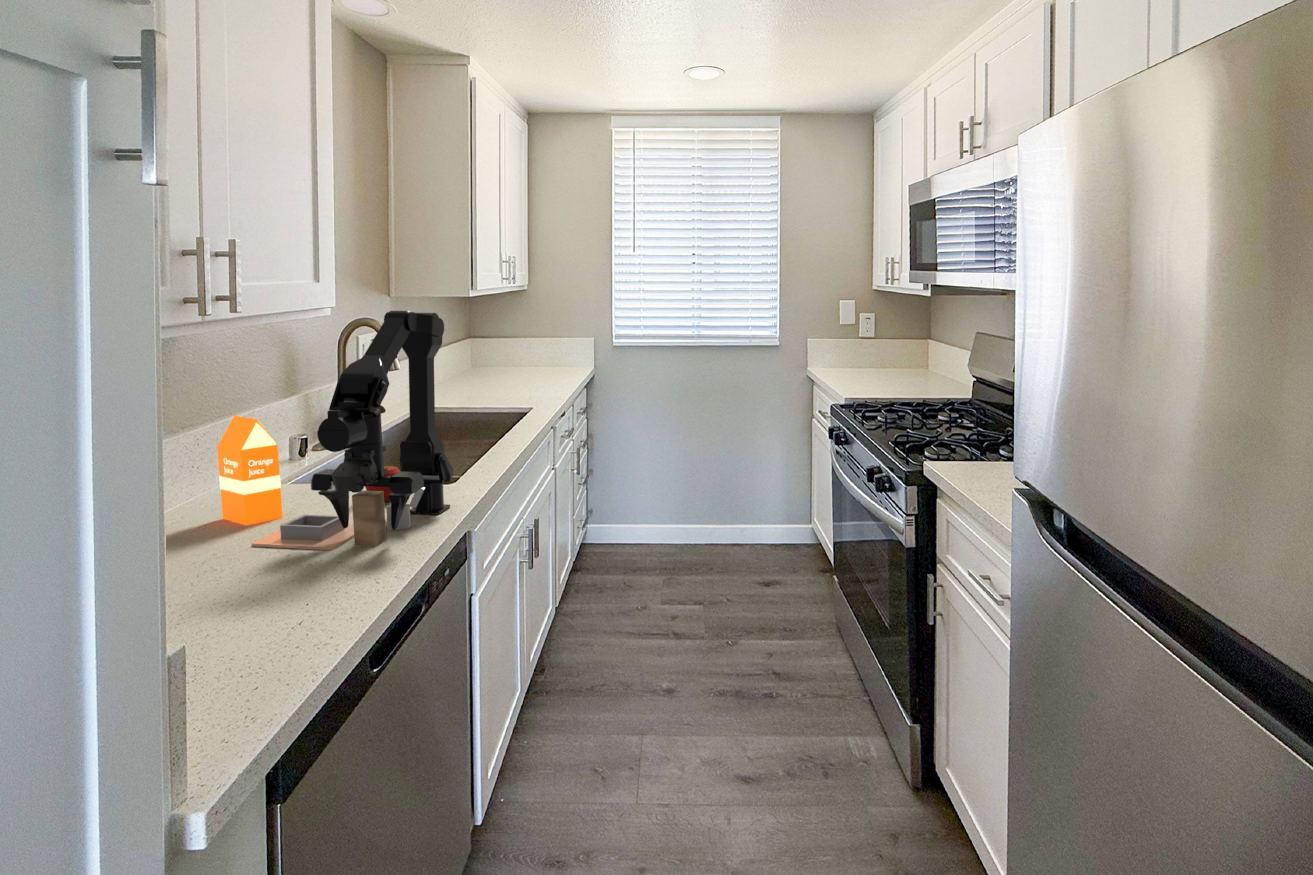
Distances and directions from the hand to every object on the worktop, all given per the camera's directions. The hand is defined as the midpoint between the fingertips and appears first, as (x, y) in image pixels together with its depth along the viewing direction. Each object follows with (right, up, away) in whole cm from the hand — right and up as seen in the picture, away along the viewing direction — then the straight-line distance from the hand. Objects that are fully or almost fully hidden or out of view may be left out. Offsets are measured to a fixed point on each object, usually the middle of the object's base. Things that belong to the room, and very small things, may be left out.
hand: (369, 528), depth 166 cm
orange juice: (-29, 0, +18) cm, 34 cm away
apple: (-7, +3, +33) cm, 33 cm away
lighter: (+4, -1, +11) cm, 12 cm away
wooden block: (0, -3, 0) cm, 3 cm away
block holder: (-12, -2, +4) cm, 12 cm away
